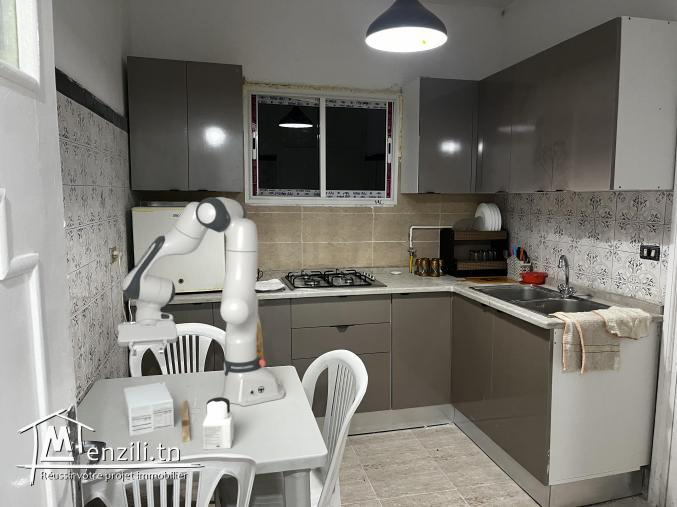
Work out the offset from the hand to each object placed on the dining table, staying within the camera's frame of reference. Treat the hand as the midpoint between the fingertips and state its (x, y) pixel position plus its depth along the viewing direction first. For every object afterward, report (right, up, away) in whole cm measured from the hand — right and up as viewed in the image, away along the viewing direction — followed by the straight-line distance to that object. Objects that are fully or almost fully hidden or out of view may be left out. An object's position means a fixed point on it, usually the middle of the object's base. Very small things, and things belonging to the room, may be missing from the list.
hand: (148, 354), depth 178 cm
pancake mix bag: (+32, -14, +20) cm, 40 cm away
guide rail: (+19, -18, -19) cm, 32 cm away
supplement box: (+7, -18, -18) cm, 26 cm away
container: (+33, -20, -32) cm, 50 cm away
